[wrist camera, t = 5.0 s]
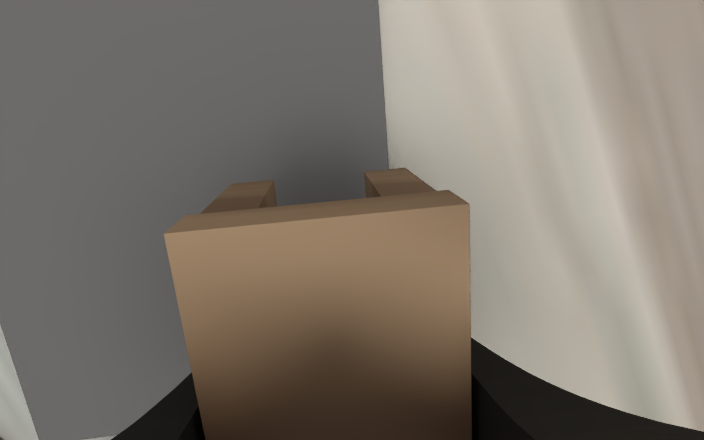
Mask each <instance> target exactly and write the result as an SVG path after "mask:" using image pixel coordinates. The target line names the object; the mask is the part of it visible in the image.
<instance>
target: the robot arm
mask: <svg viewBox="0 0 704 440" xmlns="http://www.w3.org/2000/svg"><path fill="white" fill-rule="evenodd" d="M471 410H472V440H704V432H702V431H698V430H693V429H688V428H684V427H679V426H675V425H670V424H666V423H662V422H658V421H654V420H651V419H647V418H644V417H640V416H637V415H633V414H630V413H626V412H623V411H620V410H617V409H614V408H611V407H608V406H605V405H602V404H599V403H597V402H594V401H591V400H588V399H586V398H583V397H580V396H578V395H575V394H573V393H570V392H568V391H566V390H563V389H561V388H559V387H557V386H555V385H552V384H550V383H548V382H546V381H544V380H542V379H539V378H538V377H536V376H534V375H532V374H530V373H528V372H526V371H524V370H522V369H521V368H519V367H517V366H515V365H514V364H512V363H510V362H508V361H507V360H505V359H503V358H502V357H500V356H498V355H497V354H495V353H494V352H492V351H491V350H489V349H487V348H486V347H484V346H483V345H481V344H480V343H478V342H477V341H475V340H474V339H473V338H471ZM111 440H205V435H204V430H203V425H202V420H201V415H200V410H199V405H198V401H197V396H196V391H195V386H194V381H193V376H192V372H191V373H190V374H189V375H188V376H187V377H186V378H185V379H184V380H183V381H182V382H181V383H180V384H179V385H177V386H176V387H175V388H174V389H173V390H172V391H171V392H170V393H169V394H168V395H166V396H165V397H164V398H163V399H162V400H161V401H159V402H158V403H157V404H156V405H155V406H154V407H152V408H151V409H150V410H149V411H148V412H147V413H145V414H144V415H143V416H142V417H141V418H139V419H138V420H137V421H136V422H134V423H133V424H132V425H130V426H129V427H128V428H126V429H125V430H124V431H122V432H121V433H119V434H118V435H117V436H115V437H114V438H113V439H111Z"/></svg>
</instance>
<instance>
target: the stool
mask: <svg viewBox="0 0 704 440" xmlns="http://www.w3.org/2000/svg"><path fill="white" fill-rule="evenodd" d="M364 178H365V192H366V198H361V199H350V200H340V201H329V202H319V203H308V204H298V205H287V206H277V201H276V193H275V185H274V180H267V181H257V182H246V183H235V184H231V185H230V186H229V187H228V188H227V189H225V190H224V191H223V192H222V193H221V194H220V195H219V196H218V197H217V198H216V199H215V200H214V201H213V202H212V203H211V204H210V205H209V206H207V207H206V208H205V209H204V210H203V211H202V212H201V213H200V214H193V215H185V216H184V217H183V218H182V219H180V220H179V221H178V222H177V223H176V224H174V225H173V226H172V227H171V228H170V229H169V230H167V231H166V232H165V233H164V238H165V243H166V248H167V253H168V258H169V263H170V268H171V272H172V277H173V282H174V287H175V292H176V297H177V302H178V307H179V312H180V317H181V322H182V327H183V332H184V337H185V341H186V346H187V351H188V356H189V361H190V366H191V371H192V376H193V381H194V386H195V391H196V396H197V401H198V405H199V410H200V415H201V420H202V425H203V430H204V435H205V440H472V410H471V310H470V210H469V203H467V202H466V201H464V200H463V199H461V198H460V197H458V196H457V195H455V194H454V193H452V192H451V191H449V190H444V191H436V190H434V189H433V188H432V187H430V186H429V185H428V184H426V183H425V182H424V181H422V180H421V179H419V178H418V177H417V176H415V175H414V174H413V173H411V172H410V171H409V170H407V169H406V168H397V169H387V170H376V171H365V172H364Z"/></svg>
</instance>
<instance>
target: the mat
mask: <svg viewBox="0 0 704 440" xmlns="http://www.w3.org/2000/svg"><path fill="white" fill-rule="evenodd" d="M387 169H389V164H388V149H387V133H386V117H385V101H384V85H383V70H382V54H381V38H380V22H379V6H378V0H0V324H1V327H2V330H3V333H4V336H5V339H6V342H7V345H8V348H9V351H10V354H11V357H12V360H13V363H14V366H15V369H16V372H17V375H18V378H19V381H20V384H21V387H22V390H23V393H24V396H25V399H26V402H27V405H28V408H29V411H30V414H31V417H32V420H33V423H34V426H35V429H36V432H37V435H38V438H39V440H81V439H89V438H97V437H105V436H113V435H118V434H119V433H121V432H122V431H124V430H125V429H126V428H128V427H129V426H130V425H132V424H133V423H134V422H136V421H137V420H138V419H139V418H141V417H142V416H143V415H144V414H145V413H147V412H148V411H149V410H150V409H151V408H152V407H154V406H155V405H156V404H157V403H158V402H159V401H161V400H162V399H163V398H164V397H165V396H166V395H168V394H169V393H170V392H171V391H172V390H173V389H174V388H175V387H176V386H177V385H179V384H180V383H181V382H182V381H183V380H184V379H185V378H186V377H187V376H188V375H189V374H190V373H191V372H192V371H191V366H190V361H189V356H188V351H187V346H186V341H185V337H184V332H183V327H182V322H181V317H180V312H179V307H178V302H177V297H176V292H175V287H174V282H173V277H172V272H171V268H170V263H169V258H168V253H167V248H166V243H165V238H164V233H165V232H166V231H167V230H169V229H170V228H171V227H172V226H173V225H174V224H176V223H177V222H178V221H179V220H180V219H182V218H183V217H184V216H185V215H193V214H200V213H201V212H202V211H203V210H204V209H205V208H206V207H207V206H209V205H210V204H211V203H212V202H213V201H214V200H215V199H216V198H217V197H218V196H219V195H220V194H221V193H222V192H223V191H224V190H225V189H227V188H228V187H229V186H230V185H231V184H235V183H246V182H257V181H267V180H274V185H275V193H276V201H277V206H287V205H298V204H308V203H319V202H329V201H340V200H350V199H361V198H366V192H365V178H364V172H365V171H376V170H387Z"/></svg>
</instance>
